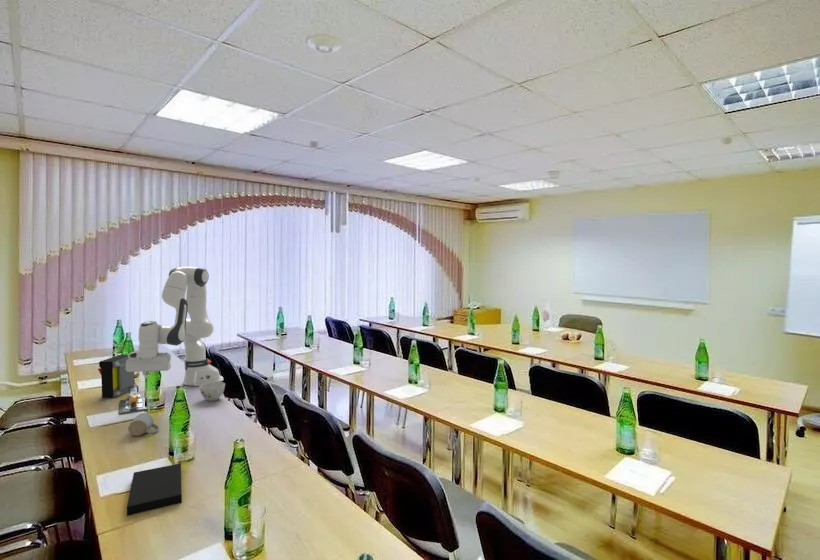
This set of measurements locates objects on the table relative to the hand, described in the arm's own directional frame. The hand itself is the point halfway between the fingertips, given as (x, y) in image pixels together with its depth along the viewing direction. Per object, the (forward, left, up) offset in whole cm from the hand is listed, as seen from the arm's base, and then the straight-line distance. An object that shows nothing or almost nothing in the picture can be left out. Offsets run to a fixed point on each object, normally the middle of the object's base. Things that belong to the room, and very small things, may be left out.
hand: (148, 379), depth 220 cm
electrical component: (+14, -31, -13) cm, 37 cm away
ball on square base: (+7, -17, -13) cm, 23 cm away
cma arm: (+7, -7, -10) cm, 14 cm away
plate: (+7, -2, -13) cm, 15 cm away
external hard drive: (0, +98, -14) cm, 99 cm away
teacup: (-29, +10, -13) cm, 34 cm away
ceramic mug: (+3, +41, -14) cm, 43 cm away
